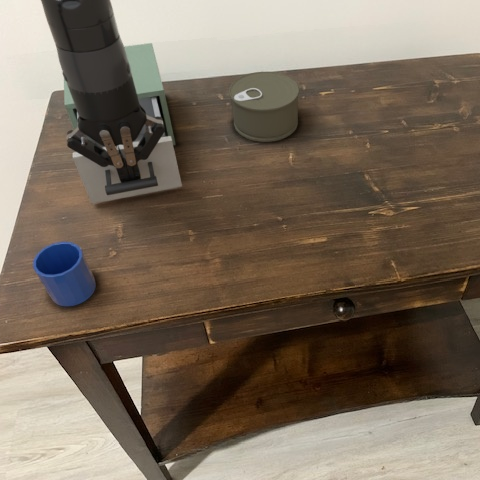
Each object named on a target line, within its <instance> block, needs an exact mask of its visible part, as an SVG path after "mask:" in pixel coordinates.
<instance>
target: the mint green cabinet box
mask: <svg viewBox="0 0 480 480" xmlns="http://www.w3.org/2000/svg"><path fill="white" fill-rule="evenodd" d="M124 48H125V50H126V54H127V57H128V61H129V64H130V67H131V73H132V77H133V81H134V85H135V89H136V92H137V96H138V99H141V98H147V97H154V96H156V99H157V103H158V107H159V112H160V116H161V118H162V119H163V123H164V128H165V132H164V133H165V137H167V136H171V138H172V142H173V146H176V139H175V135H174V129H173V127H172V122H171V117H170V111H169V107H168V103H167V98H166V94H165V88H164V85H163V81H162V77H161V74H160V69H159V65H158V62H157V58H156V53H155V50H154V46H153V43H152V42H149V43H142V44H141V43H140V44H135V45H133V44H132V45H127V46H125V45H124ZM63 97H64V98H63V99H64V100H63V101H64V107H65V110H66V112H67V115H68V118H69V121H70V123H71V126H72V128H73V131H74V130H75V129H76V128H77V127H78V122H77V110H76V107H75V104H74V102H73V99H72V96H71V93H70V90H69V88H68V85H67V82H66V81H65V79H64V78H63Z"/></svg>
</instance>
